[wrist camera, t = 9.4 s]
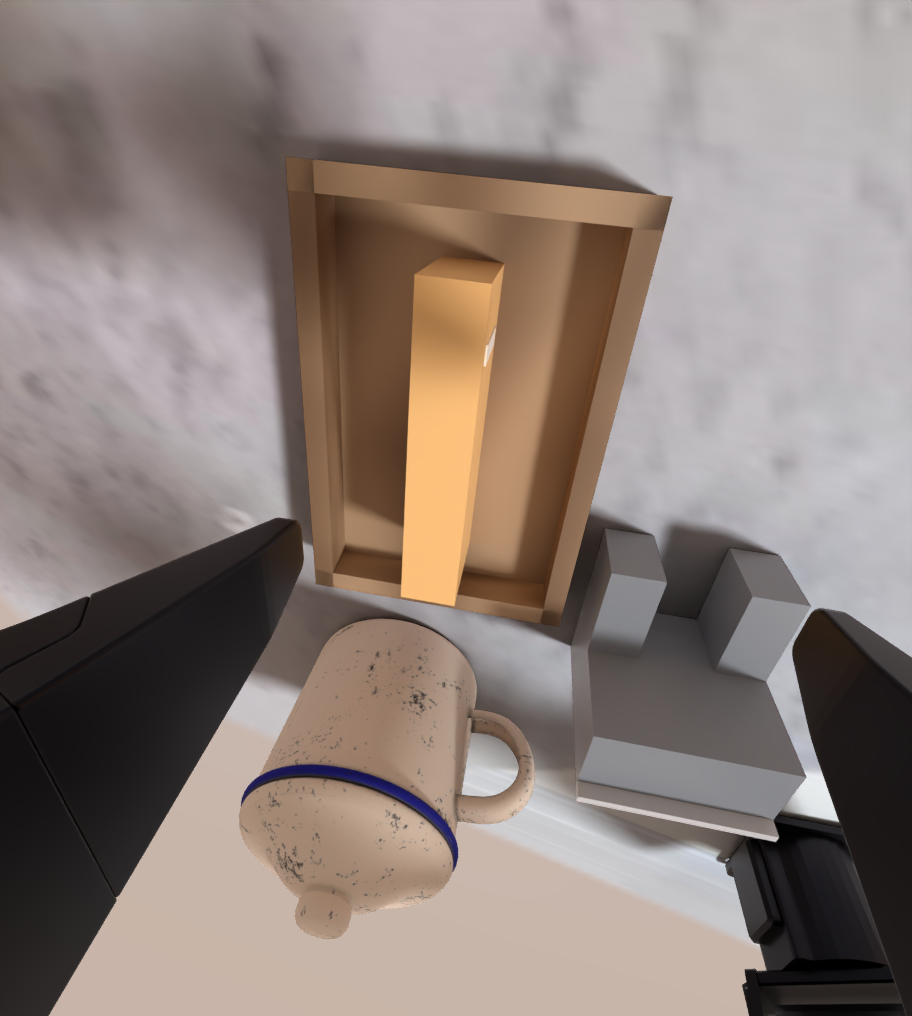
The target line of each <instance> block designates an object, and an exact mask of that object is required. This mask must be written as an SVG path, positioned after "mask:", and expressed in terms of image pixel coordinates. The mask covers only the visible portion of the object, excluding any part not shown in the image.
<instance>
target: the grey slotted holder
mask: <svg viewBox="0 0 912 1016" xmlns="http://www.w3.org/2000/svg"><path fill="white" fill-rule="evenodd" d="M666 585H667V580H666V576H665V573H664V569H663V565H662V562H661V558H660V555H659V551H658V548H657V544H656V541H655V537H654V536H651V535H645V534H639V533H632V532H626V531H620V530H613V529H607V528H605V530H604V534H603V537H602V541H601V544H600V547H599V551H598V554H597V558H596V561H595V565H594V568H593V572H592V575H591V579H590V582H589V585H588V589H587V592H586V596H585V599H584V603H583V606H582V610H581V613H580V617H579V620H578V624H577V627H576V630H575V634H574V637H573V641H572V644H571V667H572V696H573V725H574V754H575V783H576V801H578V802H583V803H588V804H593V805H597V806H602V807H607V808H612V809H617V810H622V811H627V812H632V813H637V814H642V815H646V816H651V817H656V818H661V819H666V820H671V821H676V822H681V823H686V824H690V825H695V826H700V827H705V828H710V829H715V830H720V831H725V832H730V833H735V834H739V835H744V836H749V837H754V838H759V839H764V840H769V841H774V842H776V841H777V840H778V838H779V835H778V833H777V830H776V827H775V824H774V821H773V820H774V819H775V817H776V816H777V815H778V813H779V812H780V811H781V809H782V808H783V807H784V806H785V804H786V803H787V802H788V800H789V799H790V798H791V797H792V795H793V794H794V793H795V791H796V790H797V789H798V788H799V786H800V785H801V784H802V782H803V781H804V780H805V779H806V775H805V773H804V770H803V768H802V766H801V763H800V761H799V759H798V756H797V754H796V751H795V749H794V747H793V744H792V742H791V740H790V737H789V735H788V733H787V730H786V728H785V725H784V723H783V721H782V718H781V716H780V714H779V711H778V709H777V707H776V704H775V702H774V699H773V697H772V695H771V692H770V690H769V688H768V685H767V683H766V680H767V679H768V677H769V675H770V674H771V672H772V670H773V669H774V667H775V665H776V664H777V662H778V660H779V659H780V657H781V655H782V654H783V652H784V650H785V649H786V647H787V645H788V644H789V642H790V640H791V639H792V637H793V635H794V634H795V632H796V630H797V629H798V627H799V625H800V624H801V622H802V620H803V619H804V617H805V615H806V614H807V612H808V610H809V609H810V607H811V606H810V604H809V602H808V601H807V599H806V597H805V596H804V594H803V592H802V591H801V589H800V587H799V586H798V584H797V582H796V581H795V579H794V577H793V576H792V574H791V572H790V571H789V569H788V568H787V566H786V564H785V563H784V561H783V559H782V558H781V556H777V555H771V554H765V553H758V552H752V551H746V550H739V549H733V548H729V550H728V552H727V554H726V557H725V559H724V561H723V563H722V565H721V568H720V570H719V572H718V574H717V576H716V579H715V581H714V583H713V585H712V587H711V590H710V592H709V594H708V596H707V598H706V601H705V603H704V605H703V607H702V609H701V612H700V614H699V616H698V618H697V620H695V619H690V618H684V617H678V616H672V615H666V614H660V613H656V610H657V607H658V605H659V602H660V600H661V597H662V595H663V592H664V590H665V587H666Z"/></svg>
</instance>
